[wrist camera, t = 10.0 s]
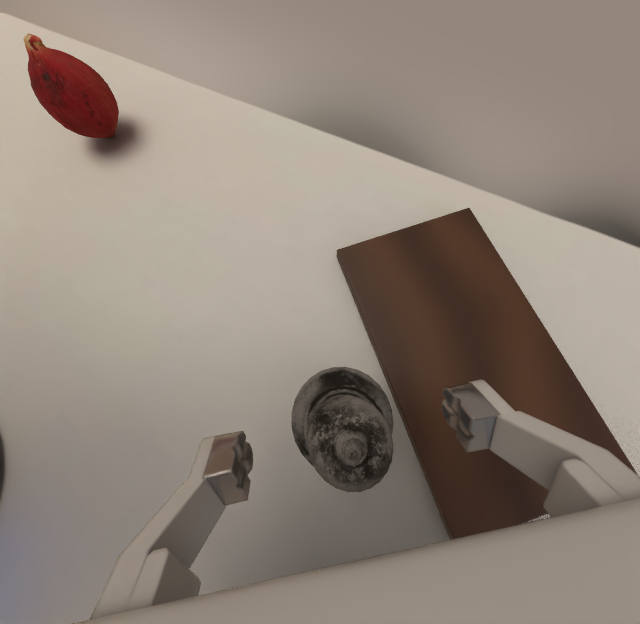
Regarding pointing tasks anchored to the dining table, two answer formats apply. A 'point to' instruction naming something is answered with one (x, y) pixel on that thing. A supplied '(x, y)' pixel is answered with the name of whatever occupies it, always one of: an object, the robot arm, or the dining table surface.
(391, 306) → the walnut board
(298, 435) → the grey chess piece
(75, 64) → the onion
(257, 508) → the dining table surface
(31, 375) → the dining table surface
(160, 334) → the dining table surface
